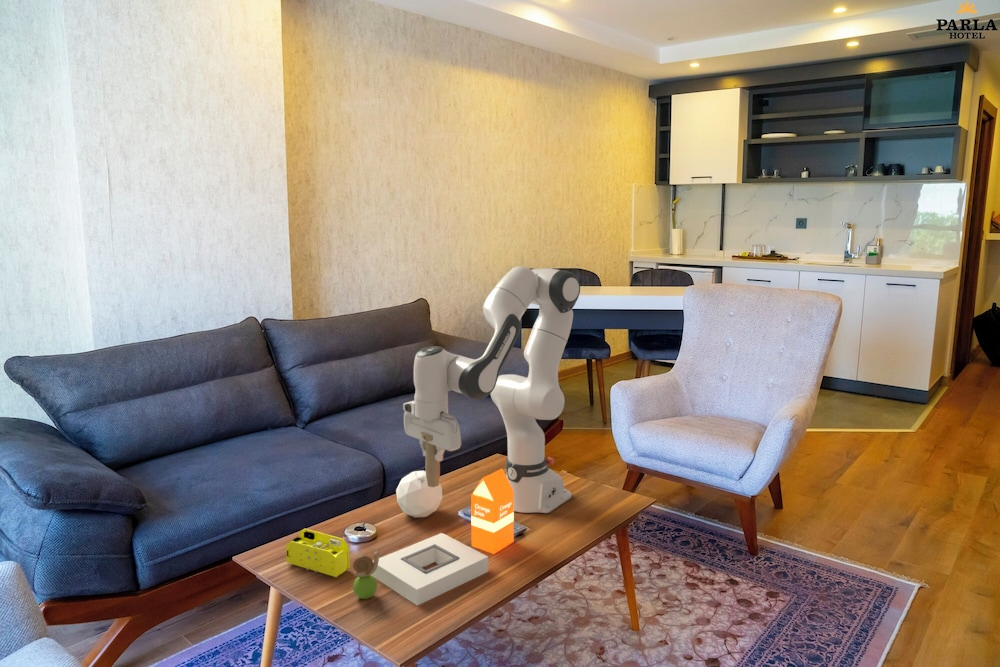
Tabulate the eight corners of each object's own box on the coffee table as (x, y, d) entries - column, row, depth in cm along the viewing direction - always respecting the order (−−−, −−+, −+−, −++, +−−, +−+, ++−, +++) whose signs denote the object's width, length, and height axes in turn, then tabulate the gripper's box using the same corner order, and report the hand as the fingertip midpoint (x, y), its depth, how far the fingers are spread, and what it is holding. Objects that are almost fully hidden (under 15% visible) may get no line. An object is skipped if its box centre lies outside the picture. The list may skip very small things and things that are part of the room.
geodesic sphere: (457, 503, 206) (443, 458, 211) (413, 514, 199) (399, 467, 204) (439, 517, 217) (426, 474, 222) (397, 528, 210) (384, 483, 215)
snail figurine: (383, 600, 167) (381, 552, 165) (354, 605, 165) (352, 556, 163) (380, 588, 172) (378, 541, 170) (352, 592, 170) (350, 545, 168)
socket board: (442, 546, 192) (441, 531, 192) (488, 571, 180) (488, 555, 179) (372, 576, 177) (371, 560, 177) (417, 605, 165) (416, 588, 164)
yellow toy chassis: (351, 570, 181) (349, 539, 179) (336, 581, 176) (334, 549, 174) (301, 556, 188) (300, 526, 186) (286, 566, 183) (284, 535, 181)
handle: (433, 491, 191) (431, 437, 189) (418, 484, 196) (417, 431, 193) (447, 486, 195) (446, 433, 192) (433, 479, 199) (431, 427, 196)
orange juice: (471, 545, 193) (470, 474, 189) (491, 533, 200) (491, 464, 196) (494, 554, 188) (494, 481, 185) (514, 541, 195) (514, 471, 192)
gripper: (466, 414, 186) (467, 465, 189) (417, 398, 201) (419, 446, 203) (447, 419, 182) (448, 471, 184) (398, 403, 196) (400, 451, 199)
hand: (432, 458), depth 194 cm, fingers closed on handle, 4 cm apart
